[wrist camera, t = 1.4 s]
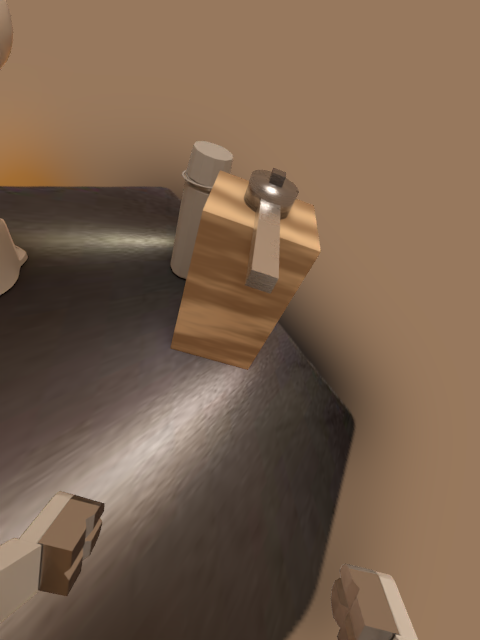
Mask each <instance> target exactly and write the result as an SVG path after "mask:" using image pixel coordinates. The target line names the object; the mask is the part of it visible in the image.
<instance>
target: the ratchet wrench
mask: <svg viewBox="0 0 480 640" xmlns="http://www.w3.org/2000/svg"><path fill="white" fill-rule="evenodd" d="M298 193H299V191H298V189H297V187H296V186H295V185H294V184H293V183H292V182H291V181H289V180H288V179H286V173H285V172H283V171H280V170H278V169H275V168H273V170H272V172H270V171H265V170H256V171H253V172H252V175H251V178H250V181H249V184H248V187H247V190H246V193H245V196H244V202H245V203H246V205H247V206H248V207H249V208H250V209H251V210H253V211H254V212H256V215H255V221H254V228H253V234H252V241H251V248H250V254H249V261H248V267H247V274H246V280H245V286H248V287H251V288H254V289H257V290H260V291H264V292H267V293H270V294H271V292H272V290H273V288H274V286H275V284H276V283H277V281H278V279H279V247H280V220H281V219H285V218H287V216H288V214H289V212H290V210H291V208H292V206H293V204H294V201H295V199H296V197H297V195H298Z"/></svg>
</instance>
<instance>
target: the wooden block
mask: <svg viewBox="0 0 480 640" xmlns="http://www.w3.org/2000/svg"><path fill="white" fill-rule="evenodd" d="M248 184H249V181H247V180H245V179H242V178H239V177H237V176H234V175H231V174H229V173H226V172H224V171H221V170H220V171H219V174H218V176H217V178H216V181H215V183H214V185H213V188H212V190H211V192H210V195H209V197H208V199H207V201H206V204H205V206H204V208H203V211H202V215H201V220H200V224H199V228H198V232H197V237H196V241H195V245H194V250H193V254H192V258H191V262H190V267H189V271H188V275H187V279H186V284H185V288H184V292H183V297H182V301H181V305H180V309H179V314H178V318H177V322H176V327H175V331H174V335H173V339H172V344H171V349H175V350H178V351H182V352H186V353H189V354H193V355H196V356H200V357H204V358H207V359H211V360H214V361H218V362H222V363H225V364H229V365H233V366H236V367H240V368H243V369H247V370H248V369H249V367H250V365H251V364H252V362H253V361H254V359H255V357H256V356H257V354H258V352H259V351H260V349H261V348H262V346H263V344H264V343H265V341H266V340H267V338H268V336H269V335H270V333H271V332H272V330H273V328H274V327H275V325H276V323H277V322H278V320H279V319H280V317H281V315H282V314H283V312H284V311H285V309H286V307H287V305H288V304H289V302H290V301H291V299H292V297H293V296H294V294H295V293H296V291H297V290H298V288H299V286H300V285H301V283H302V281H303V280H304V278H305V277H306V275H307V273H308V272H309V270H310V269H311V267H312V265H313V264H314V262H315V261H316V259H317V257H318V256H319V254H320V252H321V250H320V243H319V238H318V237H319V236H318V230H317V223H316V217H315V210H314V205H311V204H308V203H305V202H303V201H300V200H298V199H295V201H294V204H293V206H292V208H291V210H290V212H289V214H288V216H287V218H285V219H281V220H280V247H279V279H278V281H277V283H276V284H275V286H274V288H273V290H272V292H271V294H270V293H267V292H264V291H260V290H257V289H254V288H251V287H248V286H245V280H246V274H247V267H248V261H249V254H250V248H251V241H252V234H253V228H254V221H255V215H256V212H254V211H253V210H251V209H250V208H249V207H248V206H247V205H246V203H245V202H244V196H245V193H246V190H247V187H248Z"/></svg>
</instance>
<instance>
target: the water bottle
mask: <svg viewBox="0 0 480 640" xmlns="http://www.w3.org/2000/svg"><path fill="white" fill-rule="evenodd" d="M232 160H233V155H232V154H231V153H230V151H228V150H227V149H225V148H223V147H222V146H219V145H217V144H214V143H211V142H206V141H197V142H196V143H195V144H194V145H193V149H192V153H191V156H190V160H189V164H188V167H187V170H185V171H183V173H182V176H183V178H184V179H185V184H184V189H183V195H182V201H181V207H180V213H179V218H178V224H177V230H176V236H175V242H174V247H173V253H172V259H171V268H172V271H173V272H174V273H175V274H176V275H177V276H179V277H181V278H184V279H187V275H188V271H189V267H190V262H191V258H192V254H193V250H194V245H195V241H196V237H197V232H198V228H199V224H200V220H201V215H202V211H203V208H204V206H205V204H206V201H207V199H208V197H209V195H210V192H211V190H212V188H213V185H214V183H215V181H216V178H217V176H218V174H219V171H220V170H221V171H224V172H226V173H229V174H230V172H231V166H232ZM185 173H186V177H187V178H186V177H185V176H184V174H185Z"/></svg>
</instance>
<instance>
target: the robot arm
mask: <svg viewBox="0 0 480 640" xmlns="http://www.w3.org/2000/svg"><path fill="white" fill-rule="evenodd" d="M12 43H13V27H12V20H11V15H10V11H9V7H8V4H7V1H6V0H0V70H1V69H2V67H3V66H4V65H5V63H6V62H7V60H8V58H9V55H10V53H11V48H12ZM27 258H28V256H27V253H26V252H25V251H24V250H23V249H21V248H19V247H18V246H16V245H14V243H13V240H12V238H11V235H10V233H9V230H8V228H7V225H6V223H5V221H4V220H3V219H1V218H0V295H1V294H3V293H4V292H6V291H7V290H9V289H10V288H11V287H12V286H13V285H14V284H15V282H16V281H17V279H18V276H19V271H20V267H21V266H22V265H23V264H24V262H25V261H26V260H27ZM103 512H104V503H101V502H97V501H94V500H90V499H87V498H83V497H80V496H76V495H73V494H69V493H65V492H61V491H59V492H58V493H57V494H55V495H54V496H53V498H52V499H51V500H50V501H49V503H48V504H47V505H46V506H45V507H44V509H43V510H42V511H41V512H40V514H39V515H38V516H37V517H36V518H35V520H34V521H33V522H32V523H31V525H30V526H29V527H28V528H27V529H26V531H25V532H24V533H23V534H22V536H21V537H20V538H19V539H17V538H13V539H11V540H9V541H7V542H6V543H4V544H2V545H0V623H1V622H3V621H4V620H5V619H6V618H8V617H9V616H10V615H11V614H12V613H14V612H15V611H16V610H17V609H18V608H20V607H21V606H22V605H23V604H25V603H26V602H27V601H28V600H29V599H31V598H32V597H33V596H34V595H35V594H37V593H38V590H39V591H44V592H49V593H53V594H58V595H63V596H68V594H69V592H70V590H71V588H72V586H73V585H74V583H75V581H76V579H77V577H78V576H79V574H80V572H81V566H82V561H83V560H84V559H86V558H87V557H88V556H89V555H90V554H91V552H92V550H93V548H94V546H95V544H96V541H97V539H98V536H99V534H100V530H101V526H102V520H101V519H100V517H101V515H102V513H103ZM340 575H341V578H339V579H337V580H335V582H334V584H333V587H332V594H331V606H332V612H333V617H334V619H335V621H336V622H337V624H338V625H339V627H340V630H339V633H338V636H337V637H338V640H418V638H417V636H416V633H415V631H414V628H413V626H412V624H411V621H410V618H409V616H408V613H407V611H406V608H405V606H404V604H403V601H402V599H401V596H400V594H399V591H398V589H397V586H396V584H395V582H394V579H393V578H392V577H391V575H388V574H384V573H380V572H376V571H373V570H370V569H365V568H361V567H357V566H353V565H348V564H344V565H342V567H341V569H340Z"/></svg>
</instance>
